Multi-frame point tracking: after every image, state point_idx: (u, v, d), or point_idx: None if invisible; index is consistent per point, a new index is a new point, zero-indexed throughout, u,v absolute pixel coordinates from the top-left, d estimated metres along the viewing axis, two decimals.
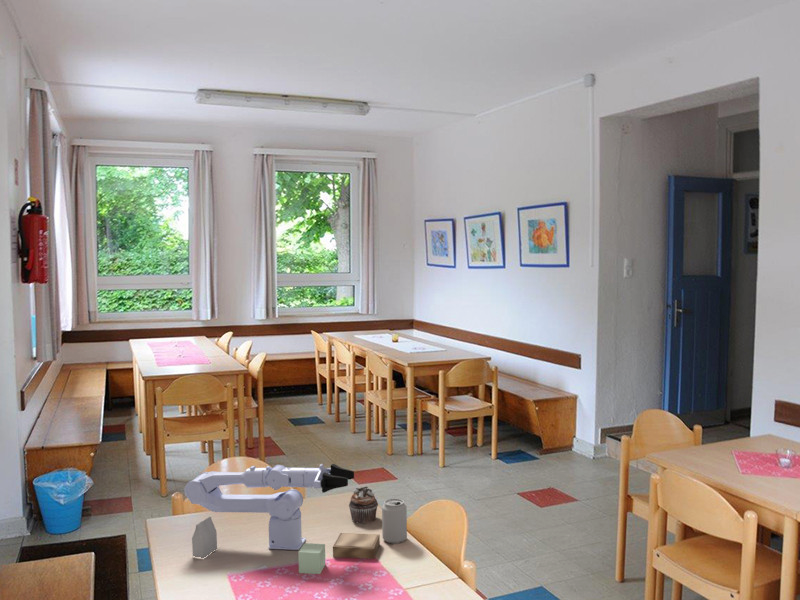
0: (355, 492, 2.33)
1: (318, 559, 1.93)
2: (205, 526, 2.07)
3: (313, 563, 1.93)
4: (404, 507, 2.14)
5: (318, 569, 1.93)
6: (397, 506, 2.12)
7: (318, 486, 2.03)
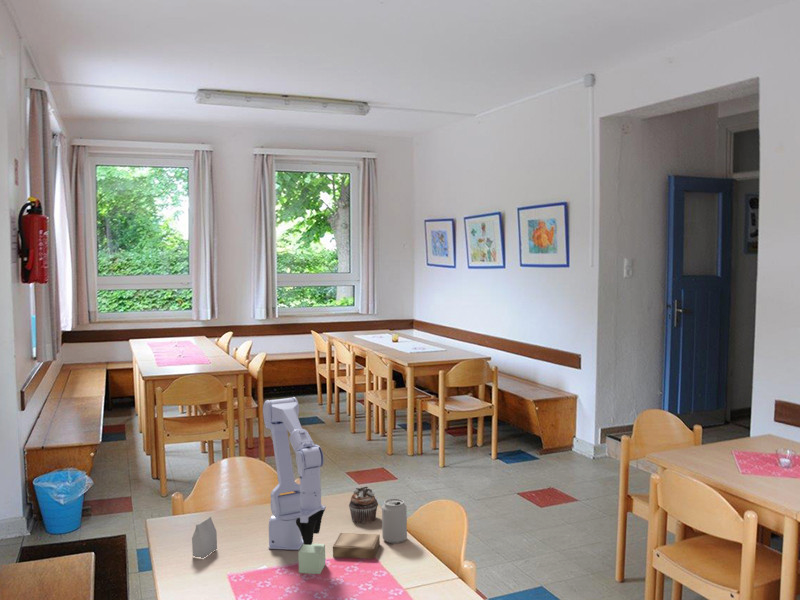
0: (355, 492, 2.33)
1: (318, 559, 1.93)
2: (205, 526, 2.07)
3: (313, 563, 1.93)
4: (404, 507, 2.14)
5: (317, 569, 1.93)
6: (397, 506, 2.12)
7: (302, 521, 1.89)
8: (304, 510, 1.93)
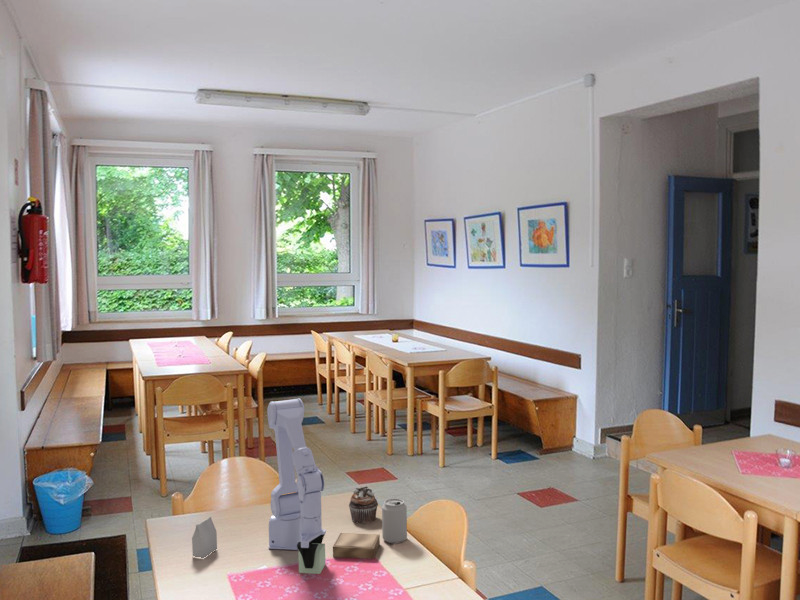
0: (355, 492, 2.33)
1: (318, 559, 1.93)
2: (205, 526, 2.07)
3: None
4: (404, 507, 2.14)
5: (318, 569, 1.93)
6: (397, 506, 2.12)
7: (302, 546, 1.89)
8: (305, 535, 1.93)
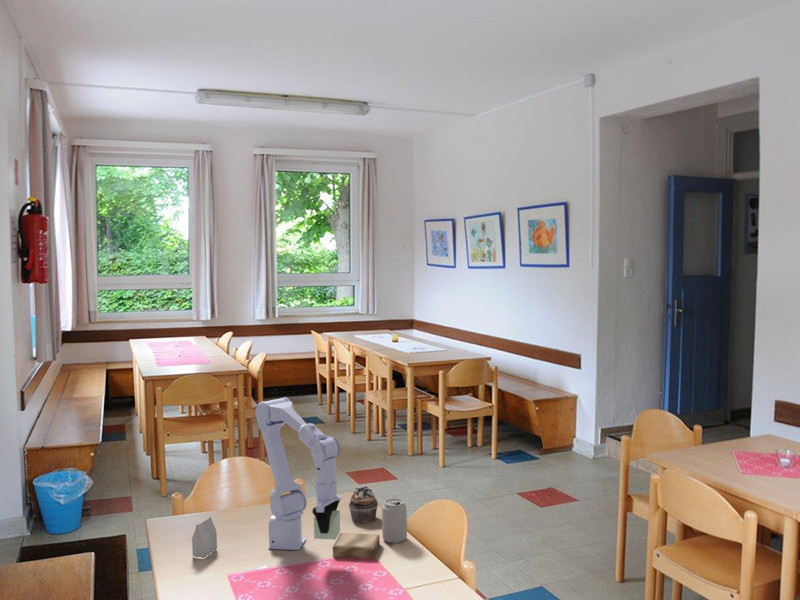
0: (355, 492, 2.33)
1: (333, 524, 1.96)
2: (205, 526, 2.07)
3: None
4: (404, 507, 2.14)
5: (333, 534, 1.97)
6: (397, 506, 2.12)
7: (318, 510, 1.92)
8: (320, 500, 1.97)
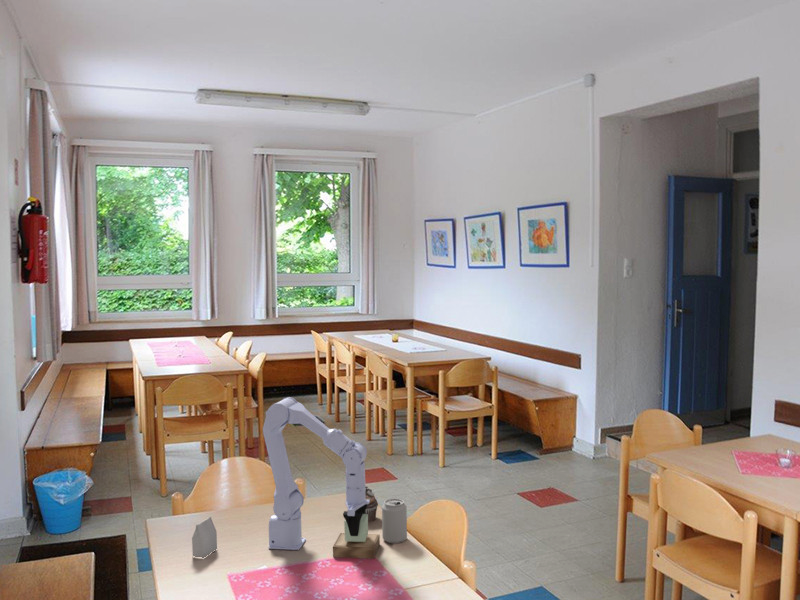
0: None
1: (363, 527, 2.04)
2: (205, 526, 2.07)
3: None
4: (404, 507, 2.14)
5: (363, 537, 2.05)
6: (397, 506, 2.12)
7: (349, 514, 2.00)
8: (350, 504, 2.05)
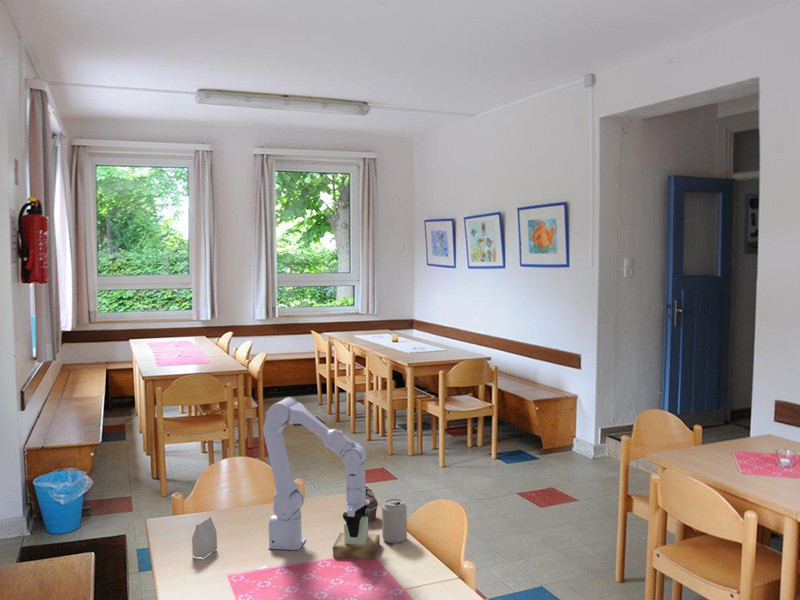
0: None
1: (363, 530, 2.04)
2: (205, 526, 2.07)
3: (358, 534, 2.05)
4: (404, 507, 2.14)
5: (362, 540, 2.05)
6: (397, 506, 2.12)
7: (349, 514, 2.00)
8: (350, 505, 2.05)
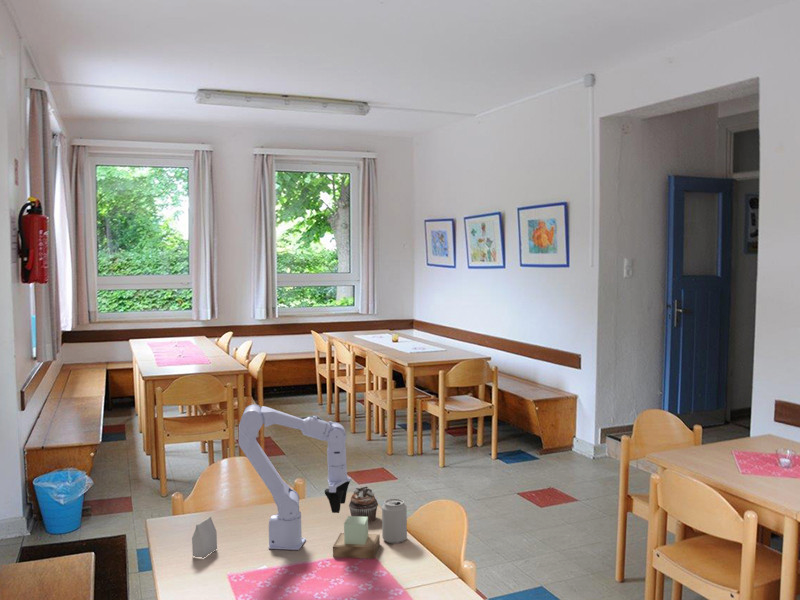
0: (355, 492, 2.33)
1: (363, 530, 2.04)
2: (206, 526, 2.07)
3: (358, 534, 2.05)
4: (404, 507, 2.14)
5: (362, 540, 2.05)
6: (397, 506, 2.12)
7: (330, 490, 2.07)
8: (332, 481, 2.11)
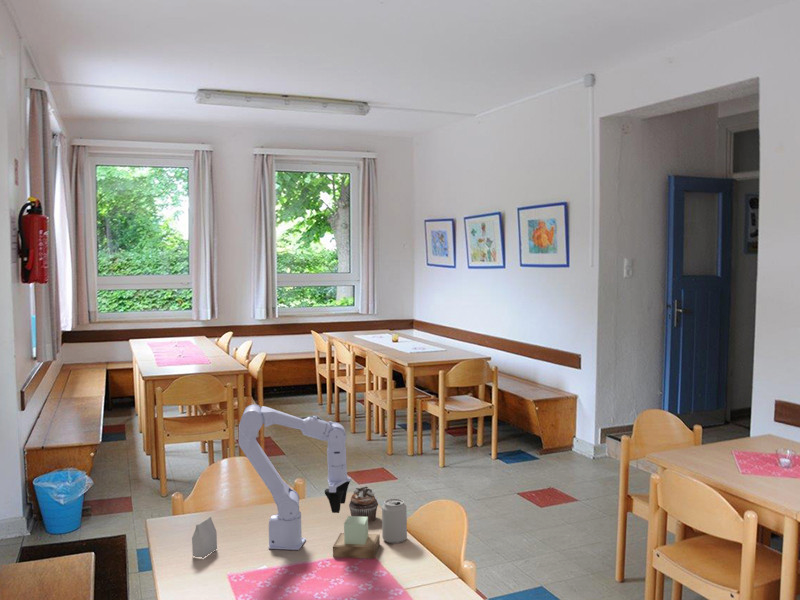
0: (355, 492, 2.33)
1: (363, 530, 2.04)
2: (205, 526, 2.07)
3: (358, 534, 2.05)
4: (404, 507, 2.14)
5: (362, 540, 2.05)
6: (397, 506, 2.12)
7: (330, 490, 2.07)
8: (332, 481, 2.11)
